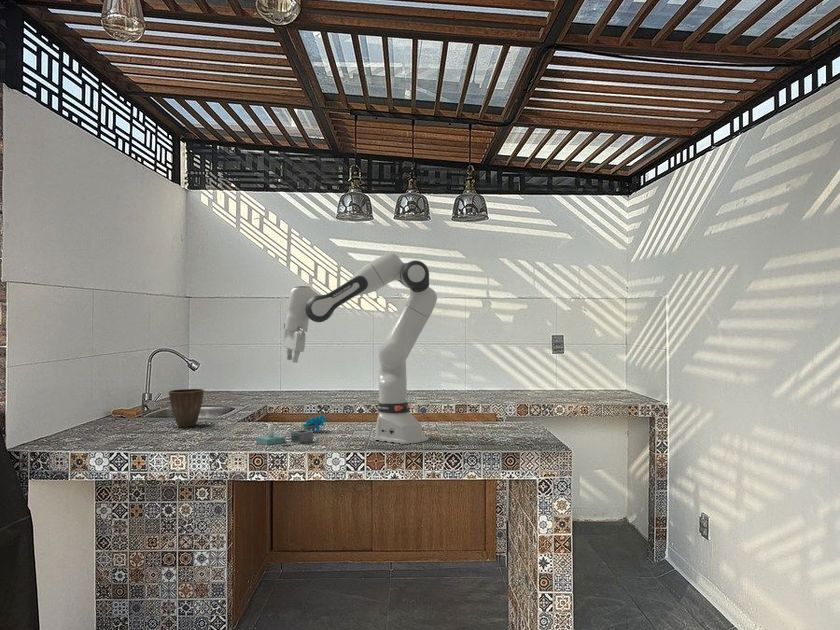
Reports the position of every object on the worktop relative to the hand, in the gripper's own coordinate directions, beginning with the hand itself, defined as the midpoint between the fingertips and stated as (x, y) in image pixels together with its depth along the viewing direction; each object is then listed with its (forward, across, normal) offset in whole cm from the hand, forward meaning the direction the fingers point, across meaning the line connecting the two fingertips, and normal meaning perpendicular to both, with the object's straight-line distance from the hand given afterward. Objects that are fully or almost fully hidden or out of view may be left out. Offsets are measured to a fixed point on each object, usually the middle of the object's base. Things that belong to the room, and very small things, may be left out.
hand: (291, 361), depth 257 cm
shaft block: (+32, -3, +5) cm, 32 cm away
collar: (+30, -7, -6) cm, 32 cm away
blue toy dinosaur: (+30, +13, -16) cm, 37 cm away
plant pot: (+38, +54, +30) cm, 73 cm away
